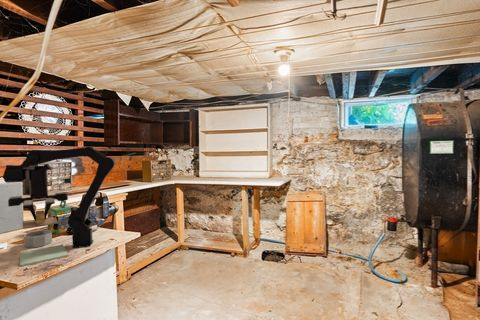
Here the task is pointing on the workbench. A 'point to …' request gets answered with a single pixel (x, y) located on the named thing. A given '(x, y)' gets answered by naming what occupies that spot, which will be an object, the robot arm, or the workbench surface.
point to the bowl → (37, 238)
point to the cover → (39, 221)
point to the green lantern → (58, 211)
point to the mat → (42, 255)
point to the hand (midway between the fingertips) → (40, 220)
